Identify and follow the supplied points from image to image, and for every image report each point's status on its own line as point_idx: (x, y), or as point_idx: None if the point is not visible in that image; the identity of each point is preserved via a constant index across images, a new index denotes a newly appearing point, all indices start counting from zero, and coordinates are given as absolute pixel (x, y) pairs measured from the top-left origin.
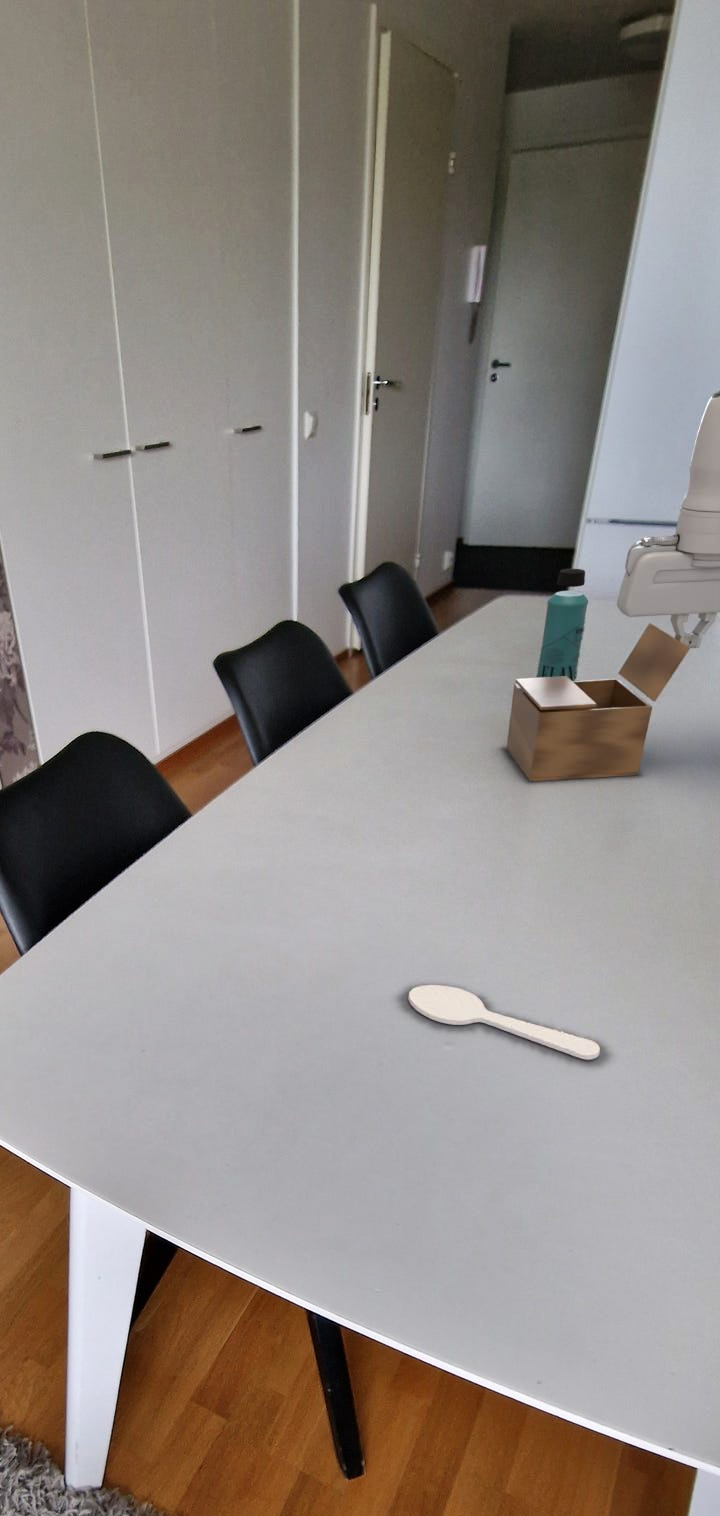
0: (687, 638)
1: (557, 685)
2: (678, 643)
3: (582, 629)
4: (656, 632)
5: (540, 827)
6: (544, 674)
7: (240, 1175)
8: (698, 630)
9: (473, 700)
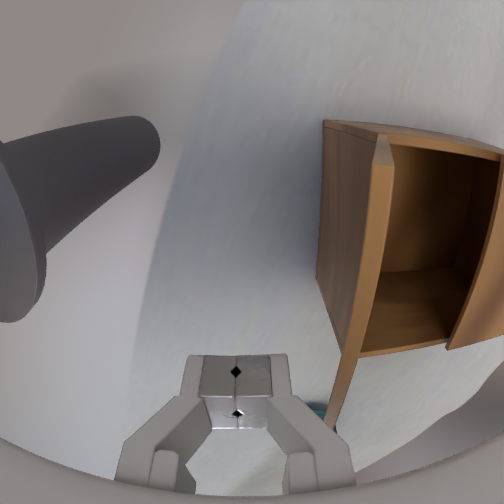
0: (256, 385)
1: (494, 296)
2: (373, 296)
3: None
4: None
5: (489, 7)
6: (335, 432)
7: None
8: (196, 421)
9: (391, 405)
